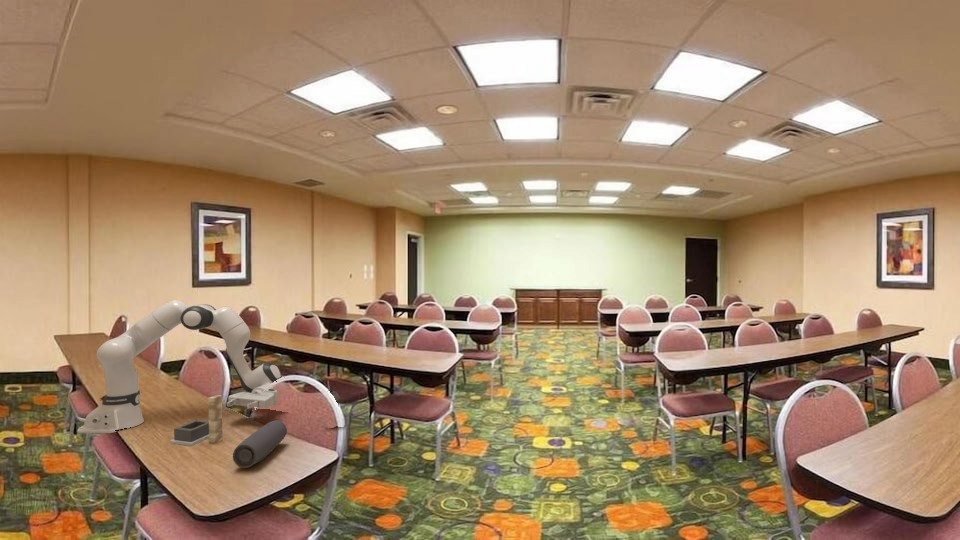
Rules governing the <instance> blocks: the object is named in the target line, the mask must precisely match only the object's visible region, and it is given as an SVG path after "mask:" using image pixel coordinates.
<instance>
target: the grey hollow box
mask: <svg viewBox="0 0 960 540" xmlns="http://www.w3.org/2000/svg"><path fill="white" fill-rule="evenodd" d="M173 436H174V438H173V439H171V440H169V443H170V444H173V445H180V446H181V445H182V446H187V447H188V446H189V447H192V446H194V445H197V444H199V443H200V442H203V441H206V440H207V439H208V440H209V420H202V419H195V420H191V422H187V423H185V424H182V425H180V426H177V427H175V428H174V429H173Z"/></svg>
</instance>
